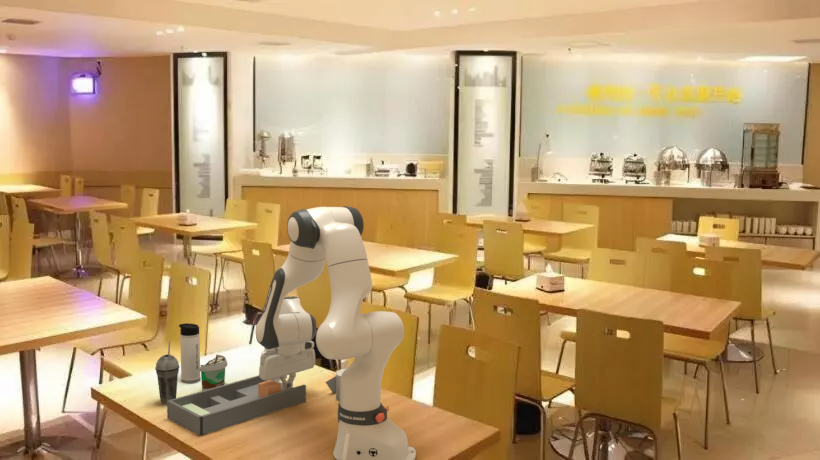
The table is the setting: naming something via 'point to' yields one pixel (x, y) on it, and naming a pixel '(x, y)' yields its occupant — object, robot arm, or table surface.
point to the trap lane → (230, 405)
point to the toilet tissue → (335, 384)
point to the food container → (213, 373)
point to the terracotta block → (268, 388)
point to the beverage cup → (167, 376)
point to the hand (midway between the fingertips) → (287, 387)
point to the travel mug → (190, 353)
